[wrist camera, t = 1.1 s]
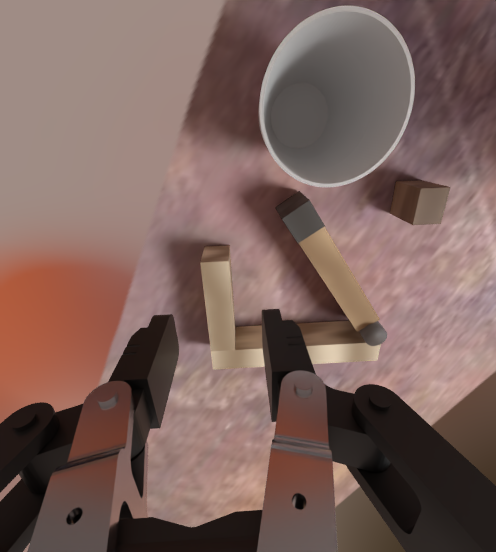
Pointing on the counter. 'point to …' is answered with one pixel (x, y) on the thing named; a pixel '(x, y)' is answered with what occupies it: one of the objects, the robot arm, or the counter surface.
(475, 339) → the counter surface
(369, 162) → the cup
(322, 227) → the leg
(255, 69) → the counter surface
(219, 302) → the jointed wooden sticks
